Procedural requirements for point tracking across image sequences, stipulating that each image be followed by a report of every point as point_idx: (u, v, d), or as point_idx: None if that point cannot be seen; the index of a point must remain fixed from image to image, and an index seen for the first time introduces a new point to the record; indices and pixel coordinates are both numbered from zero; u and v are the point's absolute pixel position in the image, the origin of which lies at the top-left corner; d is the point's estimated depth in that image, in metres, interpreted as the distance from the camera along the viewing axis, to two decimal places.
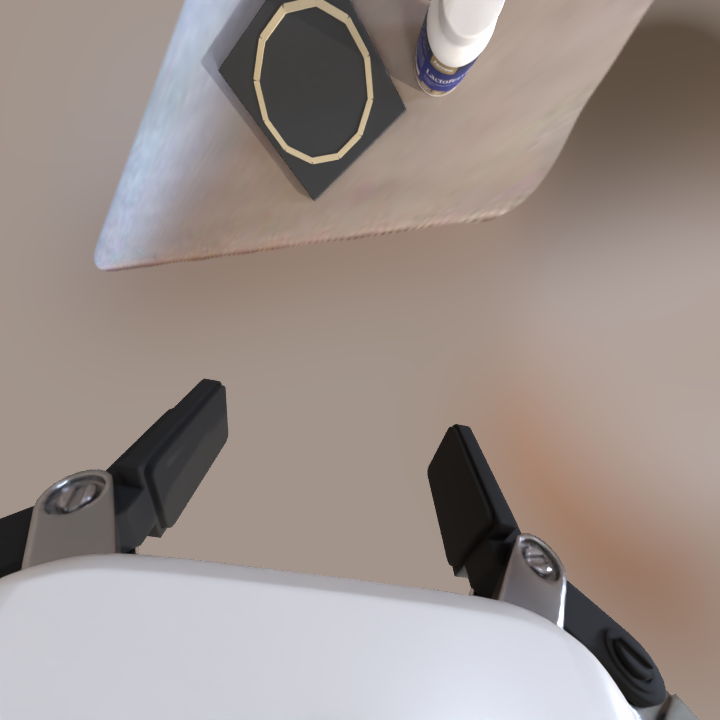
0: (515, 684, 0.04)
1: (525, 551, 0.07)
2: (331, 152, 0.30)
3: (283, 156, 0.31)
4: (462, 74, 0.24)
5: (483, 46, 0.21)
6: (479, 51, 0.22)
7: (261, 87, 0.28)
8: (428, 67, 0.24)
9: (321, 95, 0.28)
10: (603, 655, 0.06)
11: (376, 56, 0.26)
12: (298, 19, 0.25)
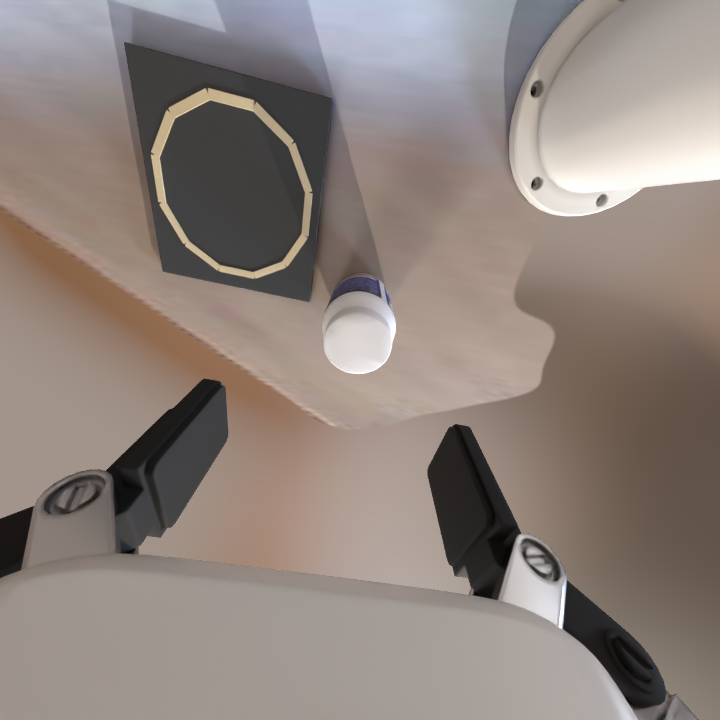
0: (515, 684, 0.04)
1: (525, 551, 0.07)
2: (214, 258, 0.23)
3: (153, 204, 0.22)
4: None
5: None
6: None
7: (173, 126, 0.19)
8: None
9: (238, 209, 0.22)
10: (603, 655, 0.06)
11: (313, 244, 0.23)
12: (263, 132, 0.19)
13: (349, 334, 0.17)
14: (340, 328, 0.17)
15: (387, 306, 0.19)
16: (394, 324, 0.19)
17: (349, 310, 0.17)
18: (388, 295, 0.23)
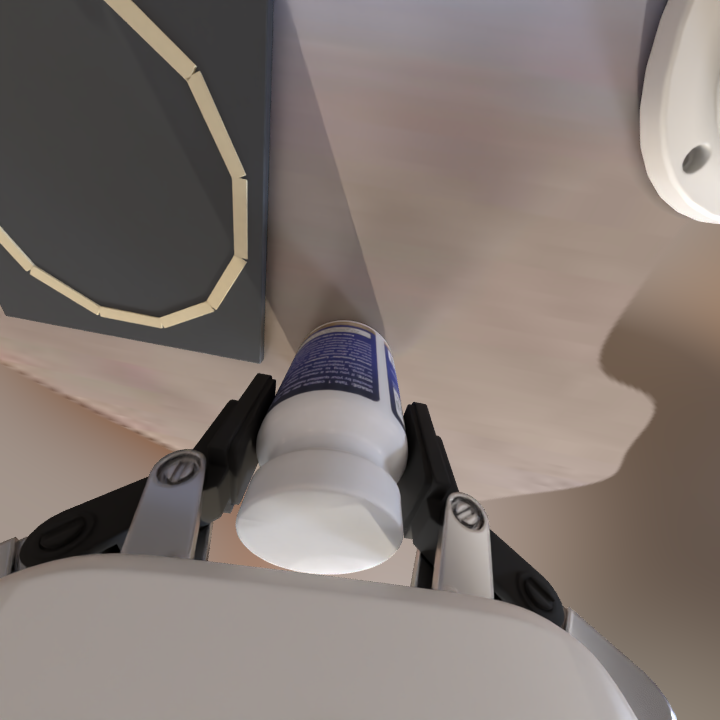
0: (515, 684, 0.04)
1: (455, 509, 0.07)
2: (87, 295, 0.13)
3: None
4: None
5: None
6: None
7: None
8: None
9: (112, 210, 0.11)
10: (518, 602, 0.06)
11: (257, 273, 0.13)
12: (129, 47, 0.09)
13: (297, 523, 0.07)
14: (273, 514, 0.06)
15: (391, 421, 0.09)
16: (406, 452, 0.09)
17: (295, 466, 0.07)
18: (392, 363, 0.13)
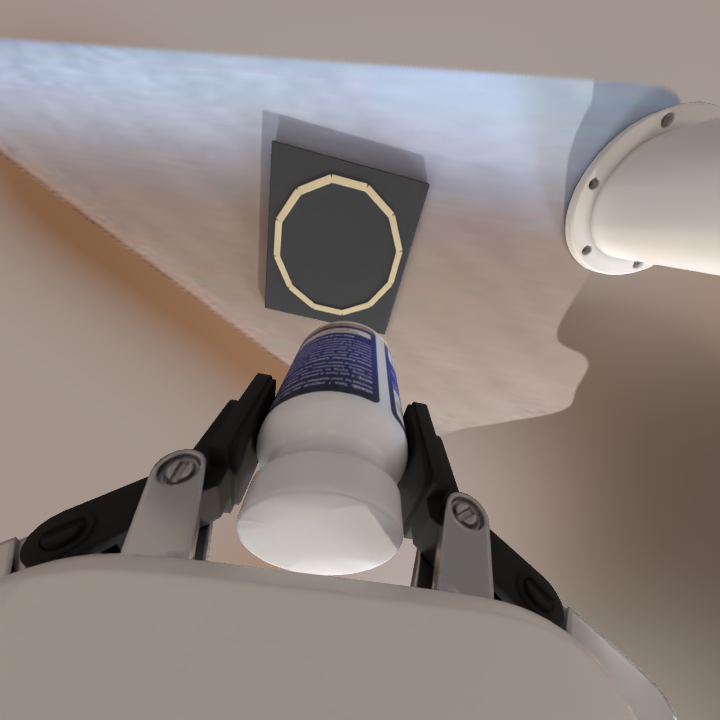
0: (515, 684, 0.04)
1: (455, 509, 0.07)
2: (310, 298, 0.28)
3: (268, 257, 0.26)
4: None
5: None
6: None
7: (298, 200, 0.24)
8: None
9: (339, 262, 0.26)
10: (518, 602, 0.06)
11: (395, 290, 0.27)
12: (370, 206, 0.24)
13: (297, 524, 0.07)
14: (273, 515, 0.07)
15: (391, 422, 0.09)
16: (405, 453, 0.09)
17: (295, 467, 0.07)
18: (392, 364, 0.13)
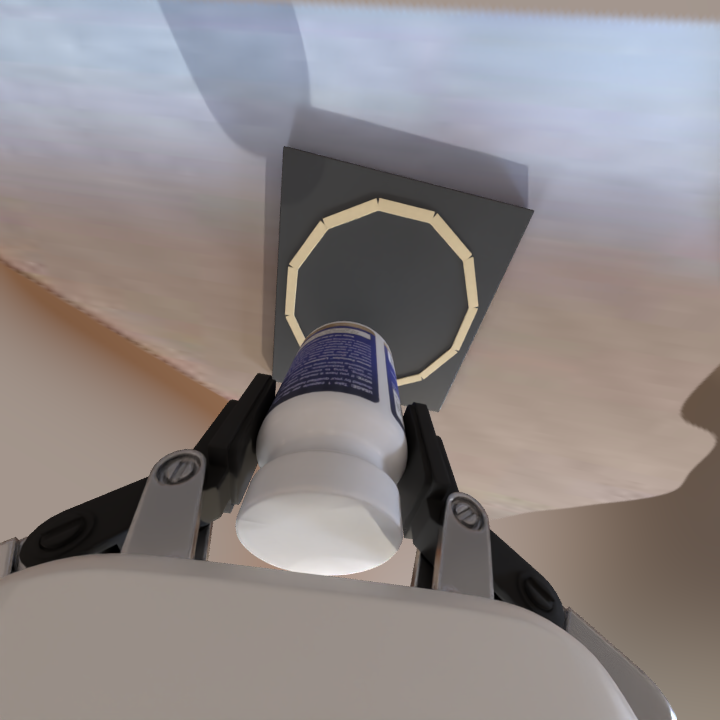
0: (515, 684, 0.04)
1: (455, 509, 0.07)
2: None
3: (277, 316, 0.18)
4: None
5: None
6: None
7: (323, 237, 0.15)
8: None
9: (381, 323, 0.18)
10: (518, 602, 0.06)
11: (461, 358, 0.19)
12: (435, 245, 0.15)
13: (296, 525, 0.07)
14: (273, 515, 0.07)
15: (391, 422, 0.09)
16: (405, 454, 0.09)
17: (294, 468, 0.07)
18: (391, 364, 0.13)
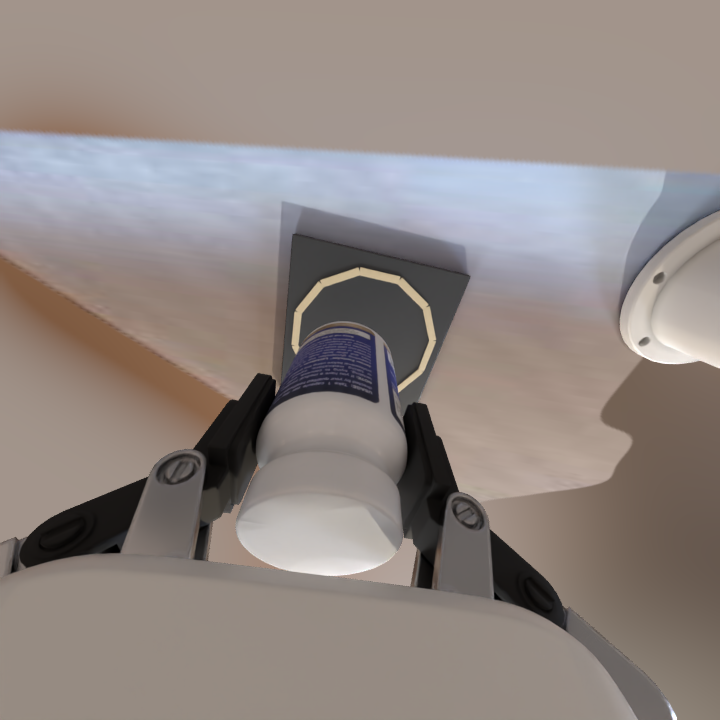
0: (515, 684, 0.04)
1: (455, 509, 0.07)
2: None
3: (285, 346, 0.23)
4: None
5: None
6: None
7: (320, 292, 0.21)
8: None
9: None
10: (518, 602, 0.06)
11: (426, 377, 0.25)
12: (402, 298, 0.21)
13: (296, 525, 0.07)
14: (273, 516, 0.06)
15: (391, 422, 0.09)
16: (405, 454, 0.09)
17: (294, 468, 0.07)
18: (391, 364, 0.13)
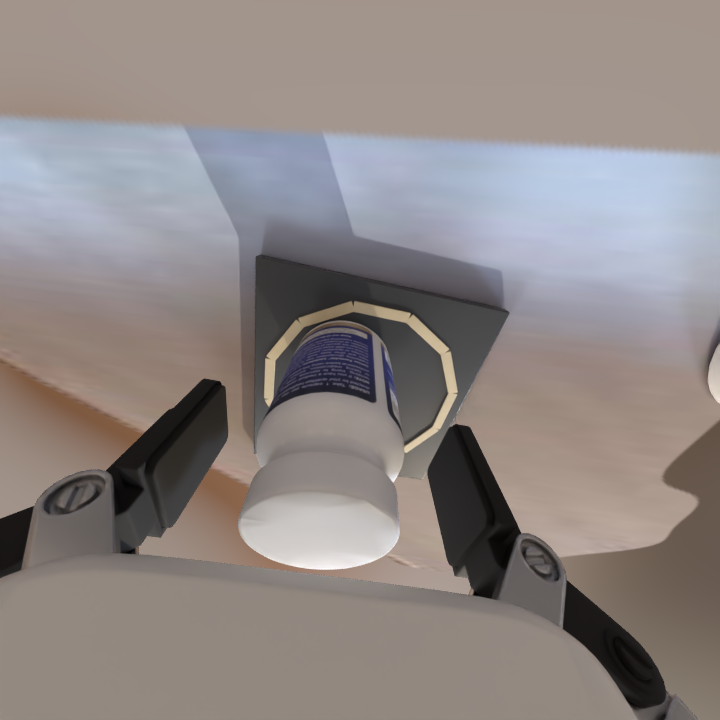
0: (515, 684, 0.04)
1: (525, 551, 0.07)
2: None
3: (256, 399, 0.18)
4: None
5: None
6: None
7: (299, 333, 0.15)
8: None
9: None
10: (603, 655, 0.06)
11: (443, 435, 0.19)
12: (412, 340, 0.15)
13: (297, 522, 0.07)
14: (274, 513, 0.07)
15: (388, 421, 0.09)
16: (402, 452, 0.09)
17: (295, 467, 0.07)
18: (388, 363, 0.13)
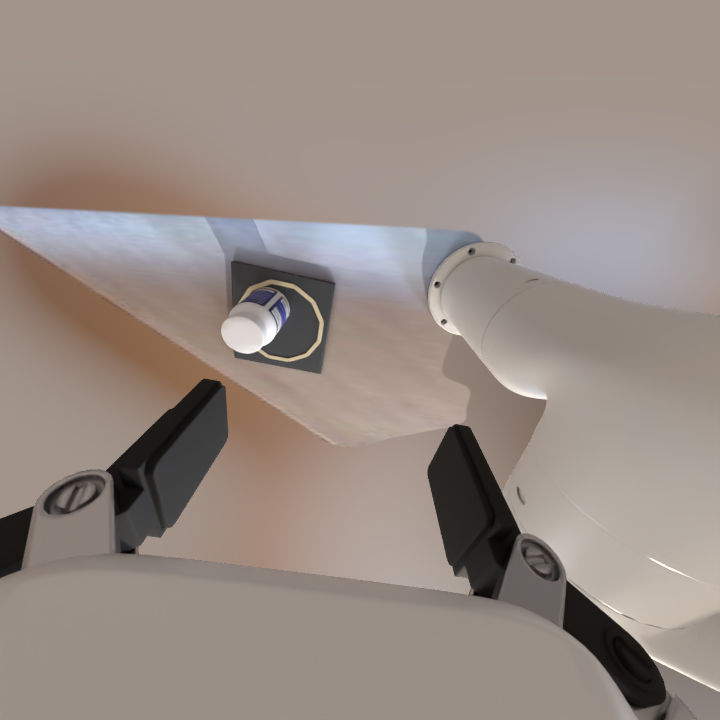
0: (515, 684, 0.04)
1: (525, 551, 0.07)
2: (265, 351, 0.41)
3: None
4: None
5: None
6: None
7: None
8: None
9: (282, 329, 0.39)
10: (603, 655, 0.06)
11: (323, 345, 0.40)
12: (298, 296, 0.36)
13: (235, 329, 0.28)
14: (229, 325, 0.28)
15: (266, 311, 0.30)
16: (273, 322, 0.30)
17: (234, 314, 0.28)
18: (282, 303, 0.34)
